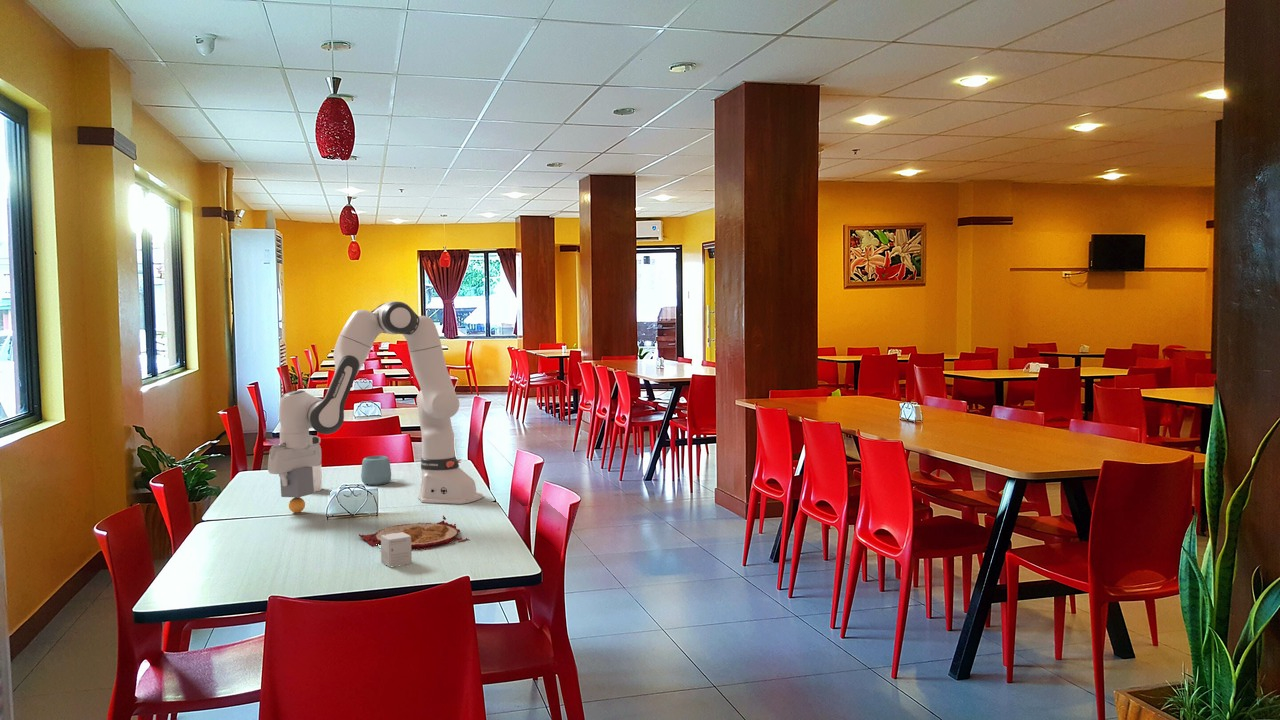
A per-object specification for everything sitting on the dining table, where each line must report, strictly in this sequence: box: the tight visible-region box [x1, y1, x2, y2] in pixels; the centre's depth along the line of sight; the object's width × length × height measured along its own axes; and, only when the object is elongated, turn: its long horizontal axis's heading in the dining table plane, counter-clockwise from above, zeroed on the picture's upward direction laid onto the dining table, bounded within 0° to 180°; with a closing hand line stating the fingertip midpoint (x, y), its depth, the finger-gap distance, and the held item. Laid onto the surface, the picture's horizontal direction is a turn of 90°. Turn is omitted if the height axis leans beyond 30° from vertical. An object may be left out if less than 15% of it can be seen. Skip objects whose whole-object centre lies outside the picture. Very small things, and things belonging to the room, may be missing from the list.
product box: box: [380, 532, 413, 568], centre depth 229 cm, size 6×6×7 cm
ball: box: [288, 497, 306, 514], centre depth 287 cm, size 5×5×5 cm
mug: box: [360, 455, 392, 486], centre depth 337 cm, size 15×11×10 cm
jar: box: [312, 462, 323, 492], centre depth 323 cm, size 9×8×12 cm
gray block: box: [279, 467, 315, 498], centre depth 287 cm, size 7×7×9 cm
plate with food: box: [357, 515, 471, 552], centre depth 253 cm, size 25×26×4 cm
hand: (295, 483), depth 287 cm, fingers closed on gray block, 7 cm apart
